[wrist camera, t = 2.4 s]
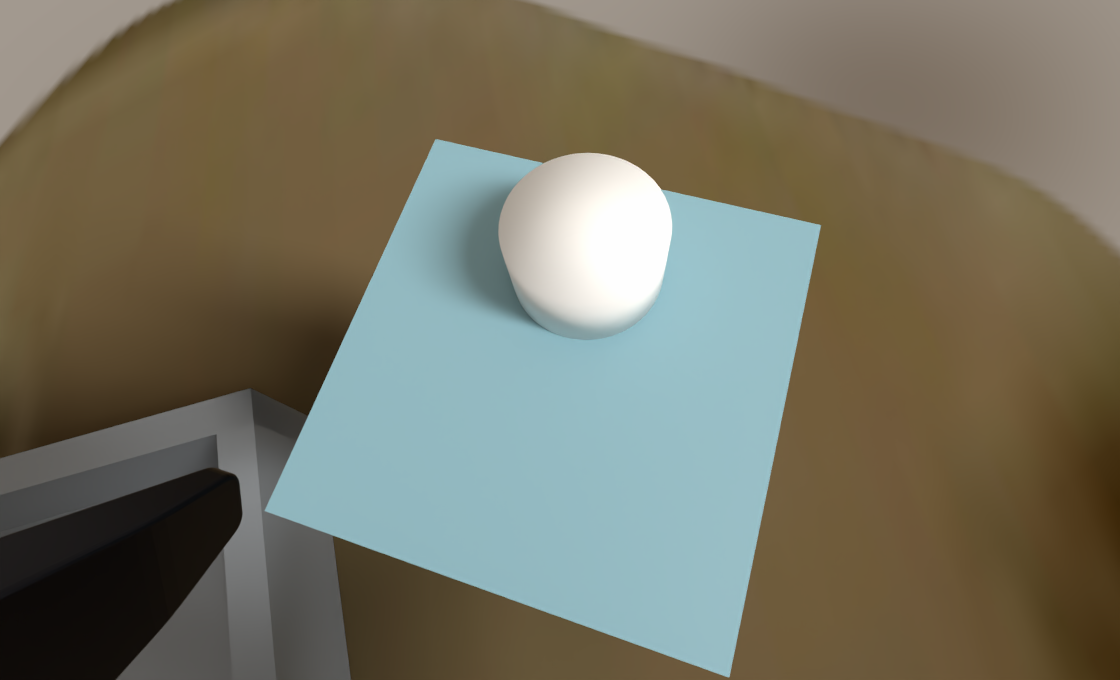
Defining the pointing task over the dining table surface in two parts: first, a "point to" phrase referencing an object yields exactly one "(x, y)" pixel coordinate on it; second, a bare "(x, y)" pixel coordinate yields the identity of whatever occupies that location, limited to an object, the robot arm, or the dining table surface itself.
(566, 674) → the dining table surface
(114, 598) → the robot arm
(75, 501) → the gray square tray
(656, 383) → the carton
